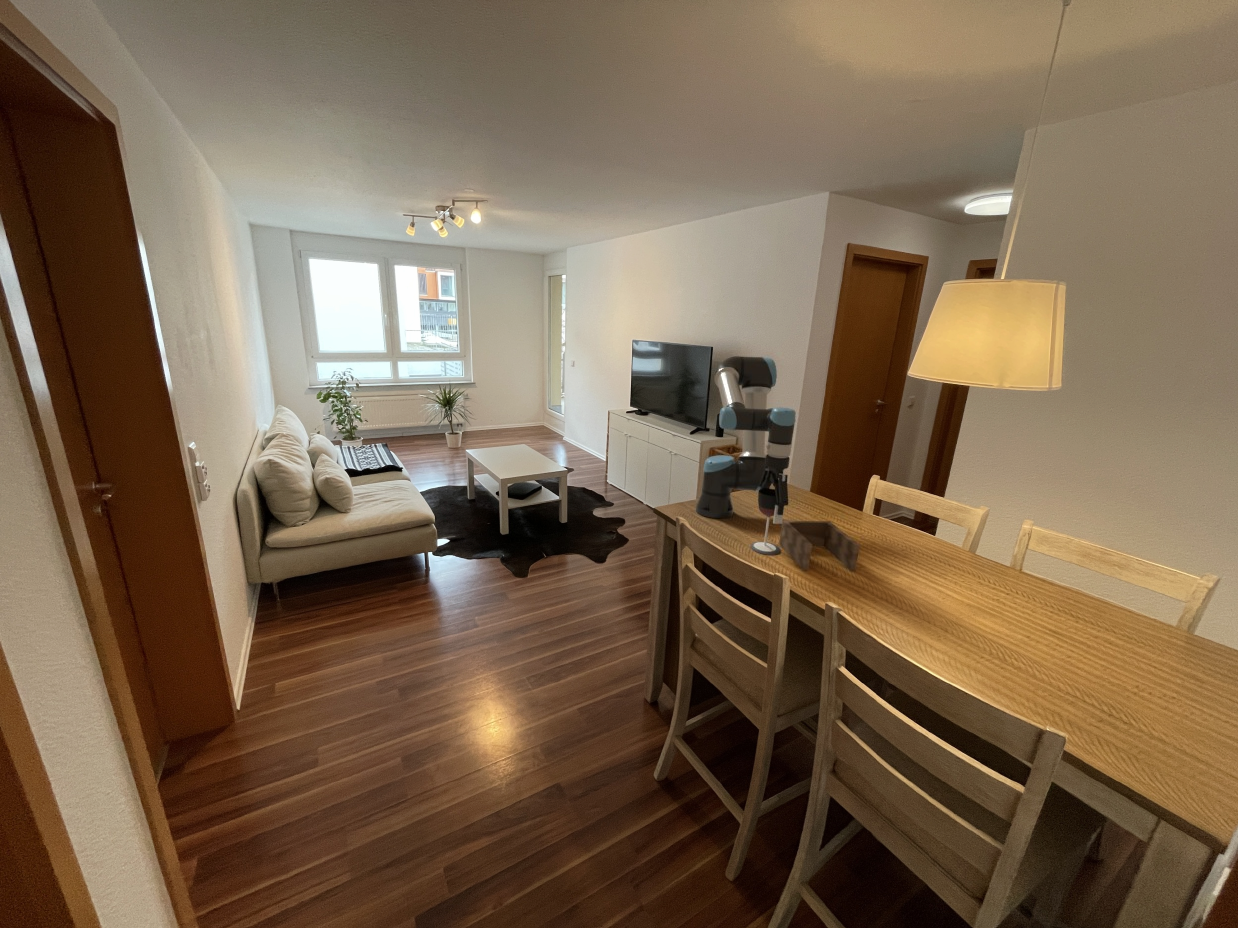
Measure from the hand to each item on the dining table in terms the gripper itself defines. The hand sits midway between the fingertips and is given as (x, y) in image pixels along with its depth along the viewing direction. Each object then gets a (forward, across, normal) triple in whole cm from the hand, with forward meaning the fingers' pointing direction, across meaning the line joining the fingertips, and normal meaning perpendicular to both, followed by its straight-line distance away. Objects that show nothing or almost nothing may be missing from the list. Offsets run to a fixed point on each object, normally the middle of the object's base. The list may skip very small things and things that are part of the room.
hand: (769, 515), depth 168 cm
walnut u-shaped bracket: (+12, +6, +15) cm, 20 cm away
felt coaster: (+12, 0, 0) cm, 12 cm away
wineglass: (+12, -1, 0) cm, 12 cm away
